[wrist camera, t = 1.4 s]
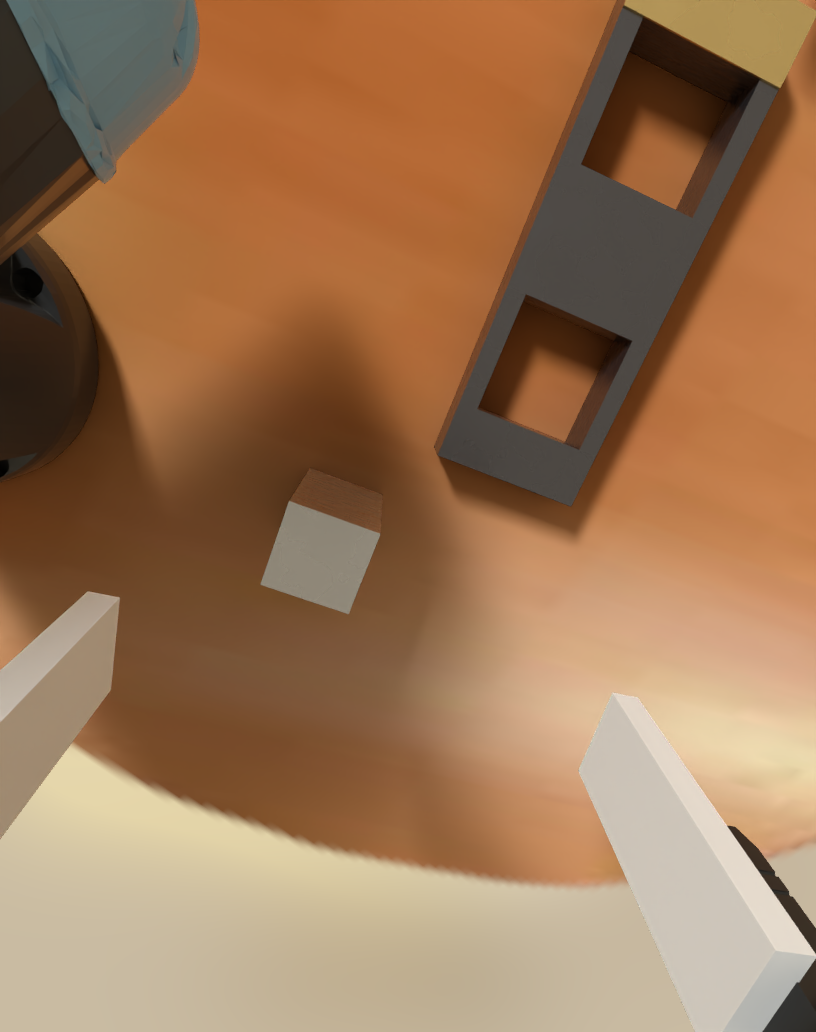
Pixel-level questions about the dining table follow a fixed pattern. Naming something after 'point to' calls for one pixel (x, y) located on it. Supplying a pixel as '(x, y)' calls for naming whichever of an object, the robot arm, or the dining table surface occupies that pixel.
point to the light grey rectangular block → (325, 541)
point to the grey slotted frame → (621, 227)
